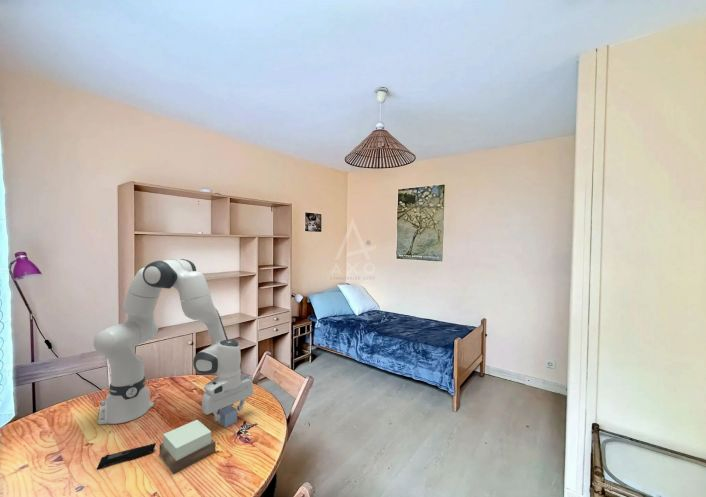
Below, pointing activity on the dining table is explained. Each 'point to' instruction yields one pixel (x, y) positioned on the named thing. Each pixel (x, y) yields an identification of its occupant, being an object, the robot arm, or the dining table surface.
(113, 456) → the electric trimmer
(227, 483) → the dining table surface
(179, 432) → the sage slab
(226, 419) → the blue cube
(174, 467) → the walnut slab
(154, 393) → the dining table surface
